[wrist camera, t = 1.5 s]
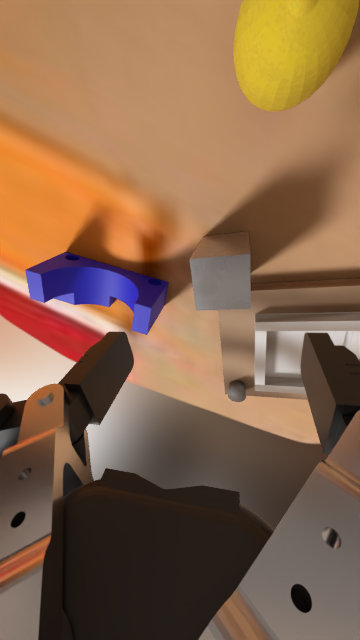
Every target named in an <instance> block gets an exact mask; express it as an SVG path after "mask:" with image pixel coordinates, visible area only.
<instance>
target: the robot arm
mask: <svg viewBox="0 0 360 640" xmlns="http://www.w3.org/2000/svg"><path fill="white" fill-rule="evenodd" d="M133 364H134V357H133V354H132V351H131V347H130V344H129V341H128V338H127V335H126V333H125V332H108V333H107V334H106V335H105V336H104V338H103V339H102V340H101V341H100V342H98V343H96V344H95V345H94V346H92V347H91V348H89V350H88V351H87V352H86V353H85V354H84V356H82V357H81V359H80V360H79V361H78V363H76V364H75V365H74V366H73V368H72V369H71V370H70V371H69V372H68V373H67V374H66V375H65V377H64V378H63V379H62V380H61V381H60V382H59V383H58V384H50V385H47V386H44V387H42V388H40V389H38V390H37V391H35V392H34V393H33V394H32V395H31V396H30V397H29V398H28V399H27V400H24V401H19V402H13V403H12V401H11V400H10V399H9V397H8V396H7V395H6V394H0V640H360V361H359V359H358V358H357V356H356V355H355V354H354V353H353V352H352V351H350V350H349V349H347V348H346V347H345V346H341V345H334V343H333V342H332V340H331V338H330V336H329V334H328V333H309V332H306V333H305V335H304V340H303V348H302V356H301V364H300V368H301V377H302V380H303V384H304V387H305V391H306V394H307V398H308V401H309V405H310V408H311V412H312V415H313V419H314V422H315V426H316V429H317V433H318V436H319V440H320V443H321V447H322V450H323V453H324V454H330V455H329V456H328V458H327V459H326V460H325V461H321V462H320V463H319V464H318V465H317V467H316V468H315V469H314V471H313V473H312V474H311V476H310V477H309V479H308V480H307V482H306V483H305V485H304V486H303V488H302V489H301V491H300V493H299V494H298V495H297V497H296V498H295V500H294V502H293V503H292V505H291V506H290V508H289V509H288V511H287V512H286V514H285V515H284V517H283V518H282V520H281V522H280V523H279V524H278V526H277V528H276V529H275V530H274V529H272V527H271V526H270V525H269V524H268V523H267V522H266V521H265V520H263V519H262V518H261V517H260V516H259V515H257V514H256V513H254V512H253V511H251V510H250V509H248V508H247V507H245V506H243V505H241V504H240V495H239V492H235V491H230V490H224V489H219V488H213V487H208V486H194V487H185V488H177V489H162V488H160V487H158V486H156V485H155V484H153V483H151V482H149V481H148V480H146V479H144V478H142V477H140V476H139V475H137V474H135V473H129V472H123V471H118V470H113V469H107V468H106V469H105V471H104V474H103V476H102V478H101V479H100V480H96V481H94V479H93V476H92V472H91V462H90V452H89V443H88V433H87V431H86V427H87V426H88V424H97V425H100V423H101V421H102V420H103V418H104V416H105V415H106V413H107V411H108V410H109V408H110V406H111V404H112V402H113V401H114V399H115V397H116V395H117V394H118V392H119V391H120V389H121V387H122V385H123V383H124V382H125V380H126V378H127V377H128V375H129V373H130V372H131V370H132V368H133Z"/></svg>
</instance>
